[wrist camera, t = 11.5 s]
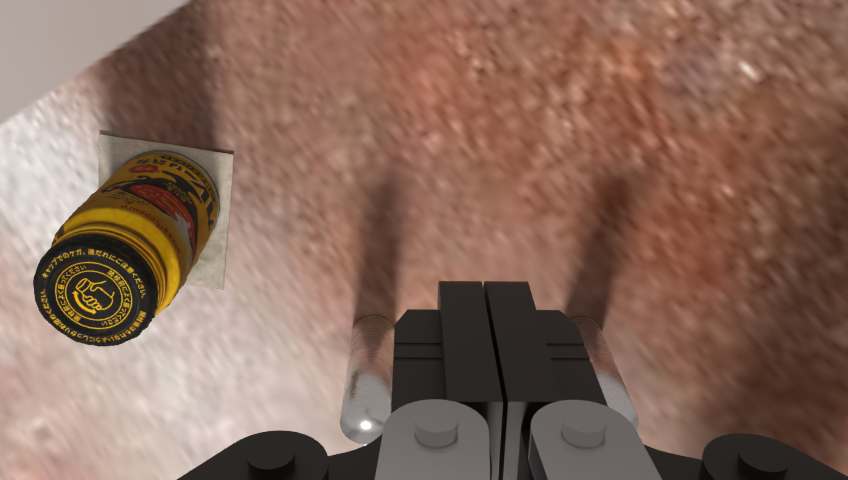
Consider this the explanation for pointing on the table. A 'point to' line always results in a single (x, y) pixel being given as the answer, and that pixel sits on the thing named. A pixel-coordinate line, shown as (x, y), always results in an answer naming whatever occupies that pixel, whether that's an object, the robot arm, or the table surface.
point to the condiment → (136, 240)
